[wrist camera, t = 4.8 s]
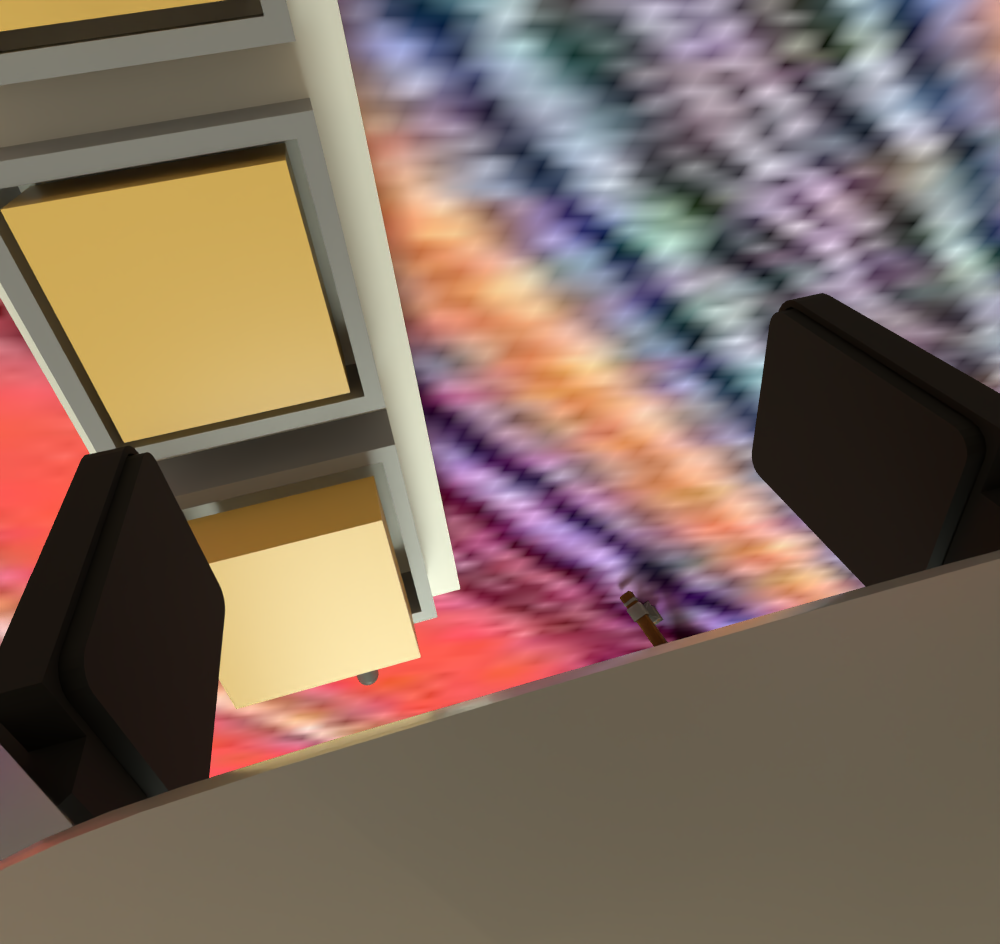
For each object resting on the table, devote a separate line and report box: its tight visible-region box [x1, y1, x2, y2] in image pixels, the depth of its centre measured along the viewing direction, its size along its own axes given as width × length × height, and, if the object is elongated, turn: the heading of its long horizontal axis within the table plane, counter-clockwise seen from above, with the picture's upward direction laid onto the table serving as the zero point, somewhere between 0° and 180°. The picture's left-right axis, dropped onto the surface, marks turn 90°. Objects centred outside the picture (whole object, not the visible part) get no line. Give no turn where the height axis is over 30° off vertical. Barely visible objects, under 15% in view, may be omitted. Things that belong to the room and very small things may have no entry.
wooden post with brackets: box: [620, 591, 669, 647], centre depth 36 cm, size 2×8×4 cm, turn 38°
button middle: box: [0, 143, 350, 443], centre depth 18 cm, size 6×6×2 cm
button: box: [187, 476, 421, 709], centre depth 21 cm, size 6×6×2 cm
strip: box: [0, 0, 460, 685], centre depth 21 cm, size 10×35×5 cm, turn 6°
